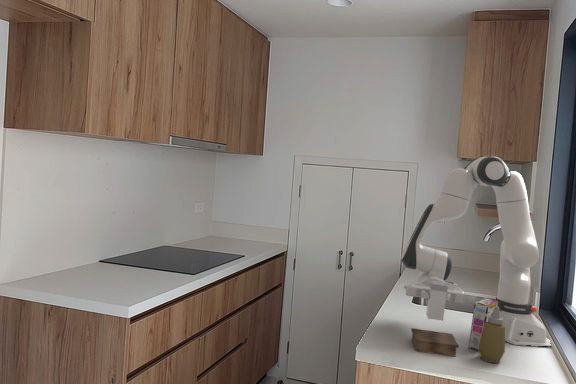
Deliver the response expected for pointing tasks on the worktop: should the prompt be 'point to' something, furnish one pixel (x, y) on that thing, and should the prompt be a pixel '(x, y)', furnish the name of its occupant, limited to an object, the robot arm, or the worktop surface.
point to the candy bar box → (480, 320)
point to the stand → (434, 342)
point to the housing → (436, 300)
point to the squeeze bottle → (493, 338)
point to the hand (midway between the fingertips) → (437, 298)
